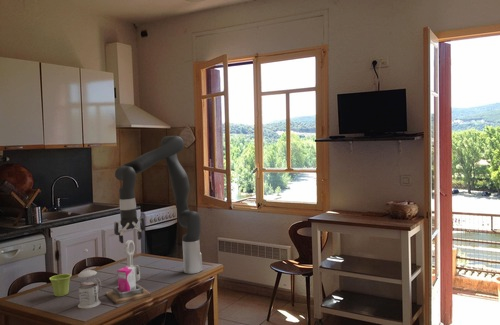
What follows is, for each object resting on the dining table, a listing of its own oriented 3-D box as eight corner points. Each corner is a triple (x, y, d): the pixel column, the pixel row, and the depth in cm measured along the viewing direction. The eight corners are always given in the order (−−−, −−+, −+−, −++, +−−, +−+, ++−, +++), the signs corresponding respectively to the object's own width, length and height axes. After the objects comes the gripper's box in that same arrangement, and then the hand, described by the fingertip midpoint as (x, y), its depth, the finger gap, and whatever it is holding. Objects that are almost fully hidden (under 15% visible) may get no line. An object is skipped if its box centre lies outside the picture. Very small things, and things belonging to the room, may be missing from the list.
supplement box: (127, 289, 204) (126, 266, 203) (136, 291, 201) (135, 267, 201) (118, 293, 199) (117, 269, 198) (127, 295, 196) (126, 271, 196)
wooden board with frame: (138, 286, 211) (138, 280, 211) (150, 295, 198) (150, 288, 198) (106, 294, 202) (105, 287, 202) (116, 304, 189) (116, 296, 189)
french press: (88, 299, 197) (85, 245, 196) (108, 301, 193) (105, 247, 192) (72, 306, 188) (68, 251, 187) (93, 309, 184) (89, 252, 182)
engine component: (116, 282, 220) (134, 282, 218) (114, 243, 219) (132, 243, 217) (127, 275, 230) (144, 276, 228) (124, 238, 229) (142, 238, 227)
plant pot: (51, 293, 207) (49, 275, 207) (71, 289, 211) (70, 272, 211) (50, 299, 199) (49, 281, 198) (72, 295, 203) (71, 277, 202)
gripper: (139, 204, 211) (142, 237, 212) (110, 209, 203) (113, 242, 204) (145, 206, 205) (147, 239, 206) (115, 211, 197) (118, 245, 198)
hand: (130, 241), depth 205 cm, fingers open, 8 cm apart
